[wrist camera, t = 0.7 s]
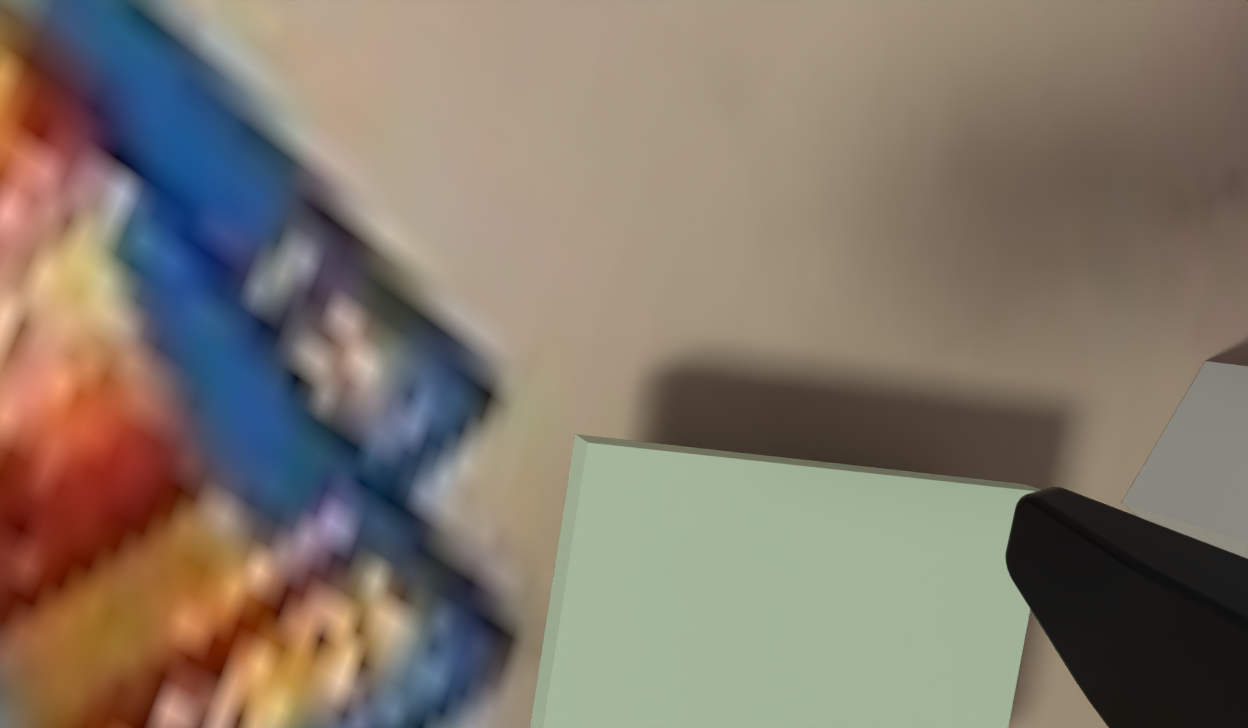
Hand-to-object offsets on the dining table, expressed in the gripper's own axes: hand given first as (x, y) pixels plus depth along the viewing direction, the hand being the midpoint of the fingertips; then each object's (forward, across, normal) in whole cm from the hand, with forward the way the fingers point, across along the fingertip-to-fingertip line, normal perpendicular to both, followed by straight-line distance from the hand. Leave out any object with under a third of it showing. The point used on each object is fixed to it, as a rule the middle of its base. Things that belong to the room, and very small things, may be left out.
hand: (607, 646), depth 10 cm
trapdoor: (+9, -7, +12) cm, 17 cm away
